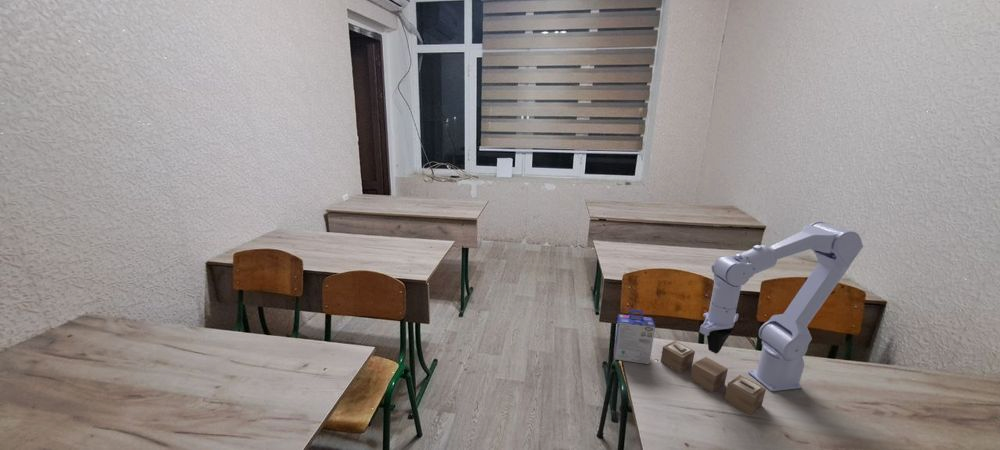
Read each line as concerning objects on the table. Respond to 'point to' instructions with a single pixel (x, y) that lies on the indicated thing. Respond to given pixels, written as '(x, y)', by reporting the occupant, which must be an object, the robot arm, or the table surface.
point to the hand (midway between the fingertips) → (713, 351)
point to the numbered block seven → (677, 356)
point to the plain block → (709, 374)
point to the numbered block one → (745, 394)
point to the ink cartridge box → (634, 338)
